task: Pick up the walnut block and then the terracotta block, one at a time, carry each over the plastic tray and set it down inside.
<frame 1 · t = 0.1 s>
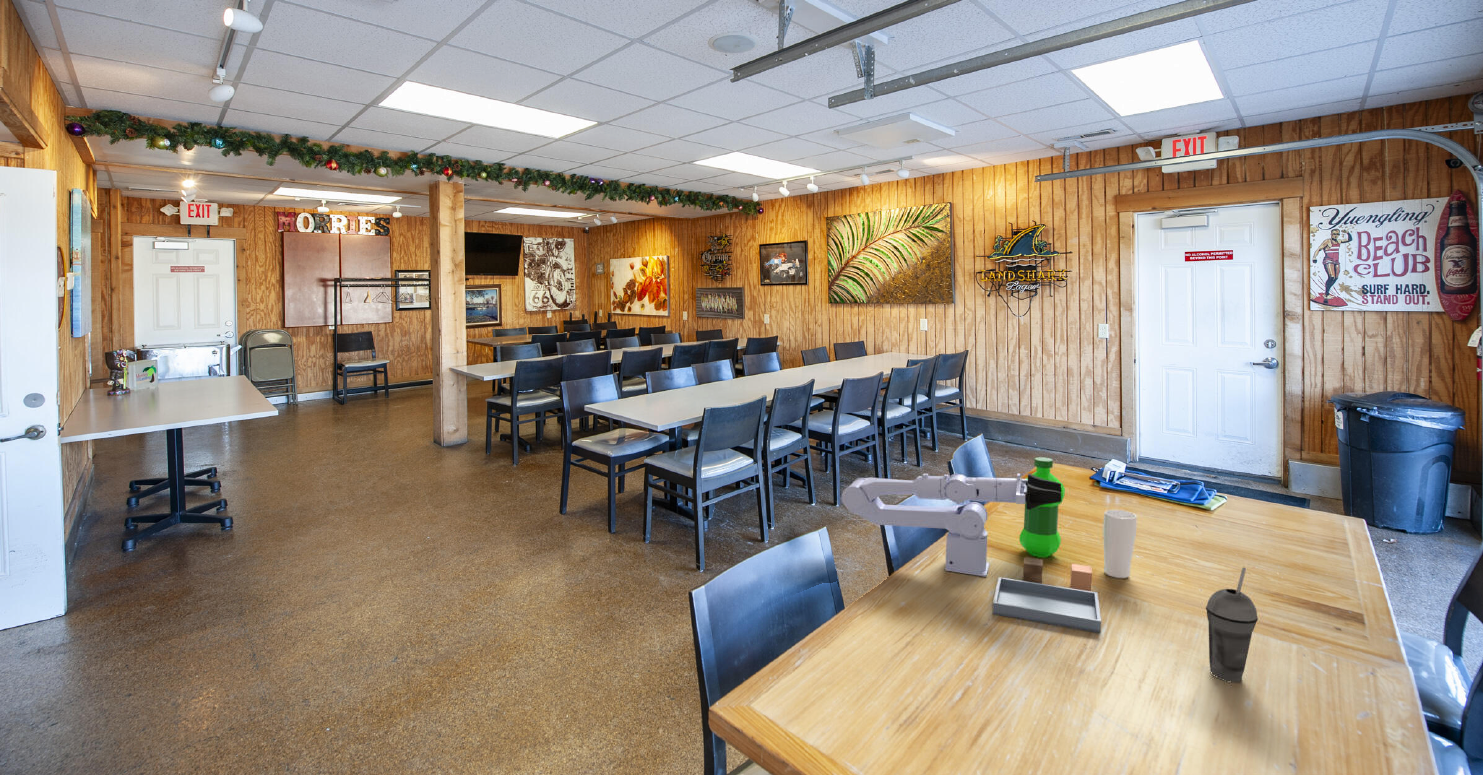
hand: (1061, 492, 151), 22 cm above the table, tool horizontal, fingers open, 7 cm apart
tray: (1045, 608, 141), on the table
drinking glass: (1116, 575, 158), on the table
terracotta block: (1080, 589, 150), on the table
walnut block: (1032, 581, 155), on the table
plastic bottle: (1039, 554, 171), on the table
beverage cup: (1225, 676, 116), on the table
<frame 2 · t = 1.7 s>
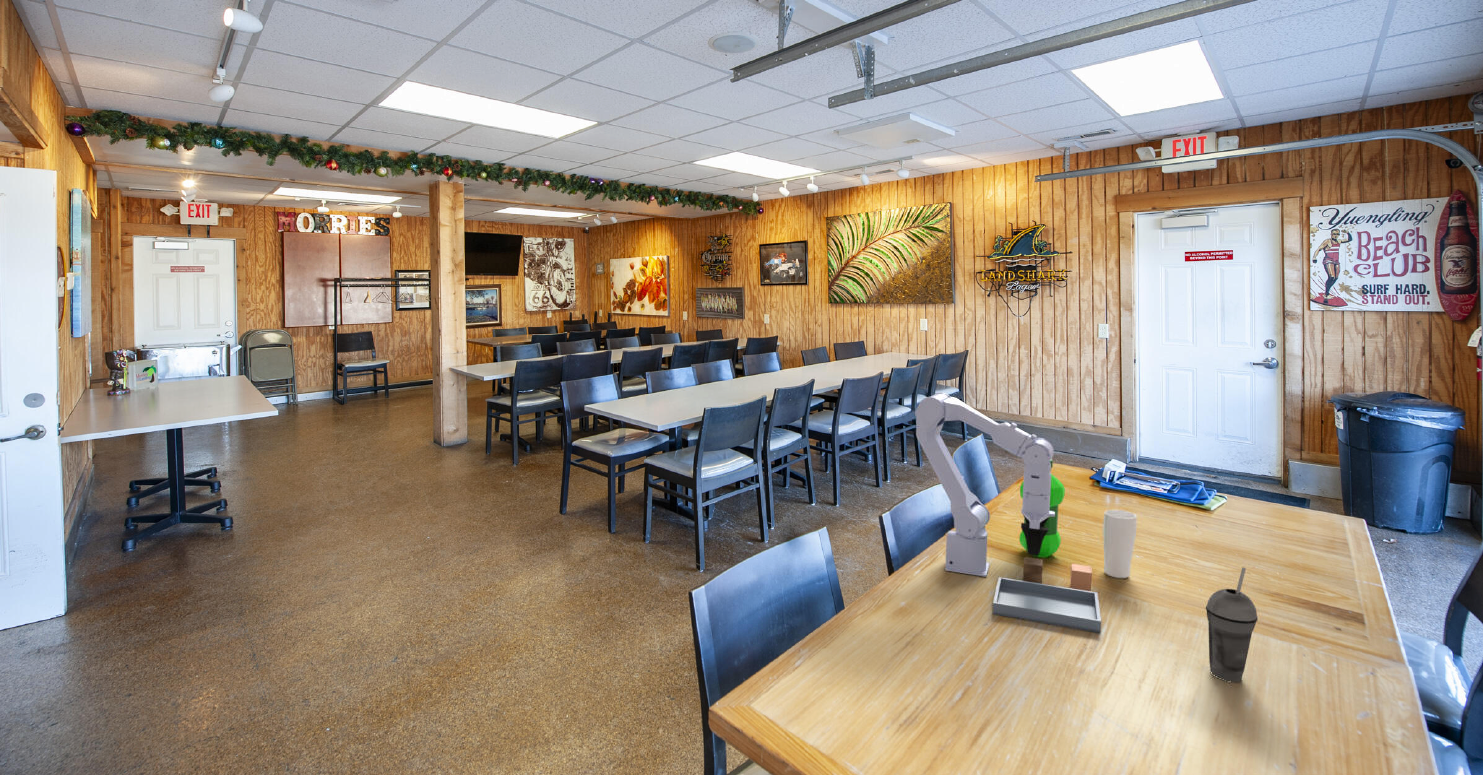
hand: (1034, 548, 154), 8 cm above the table, tool pointing down, fingers open, 7 cm apart
nothing on the table moved.
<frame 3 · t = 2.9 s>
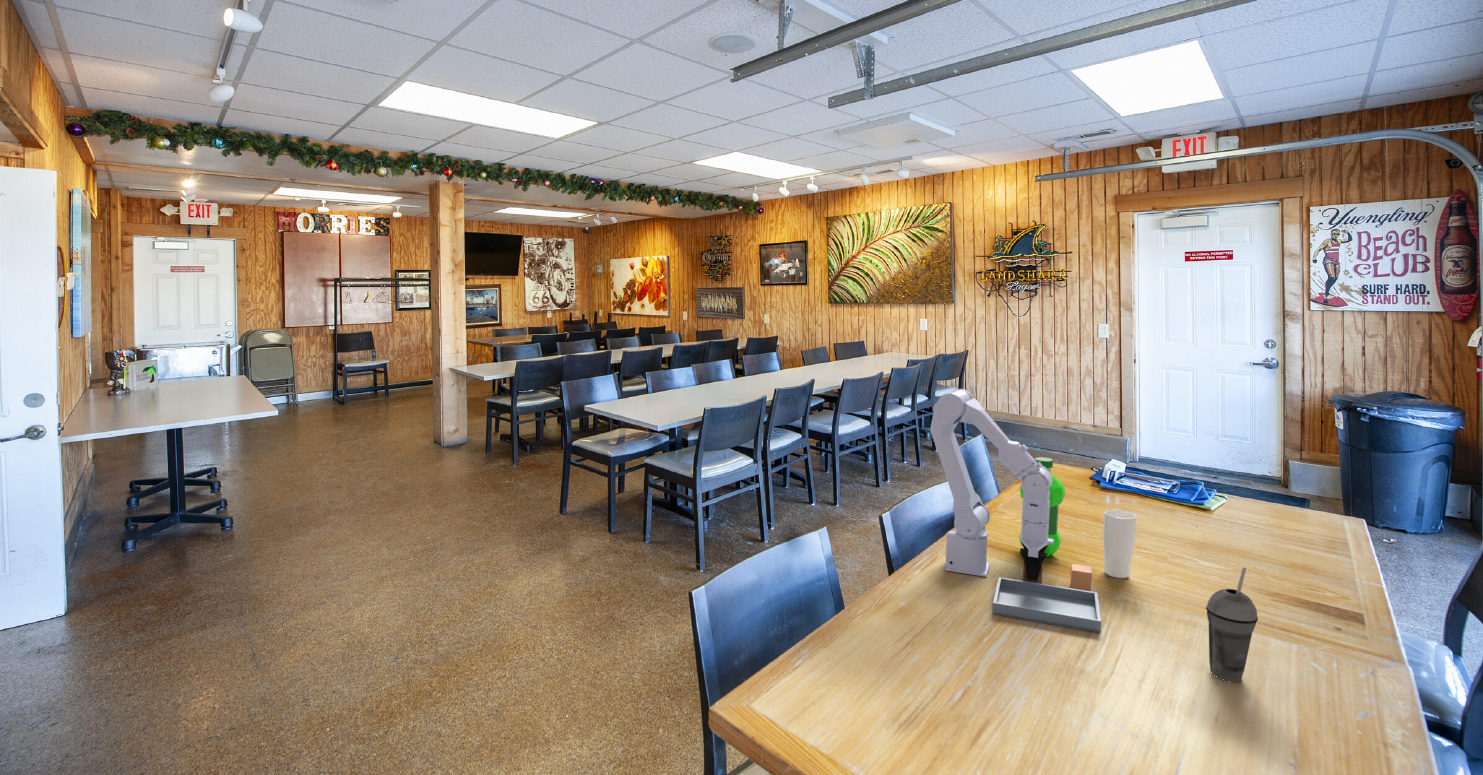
hand: (1032, 575, 155), 1 cm above the table, tool pointing down, fingers closed on walnut block, 4 cm apart
walnut block: (1032, 581, 155), on the table, touching gripper
everything else where it was.
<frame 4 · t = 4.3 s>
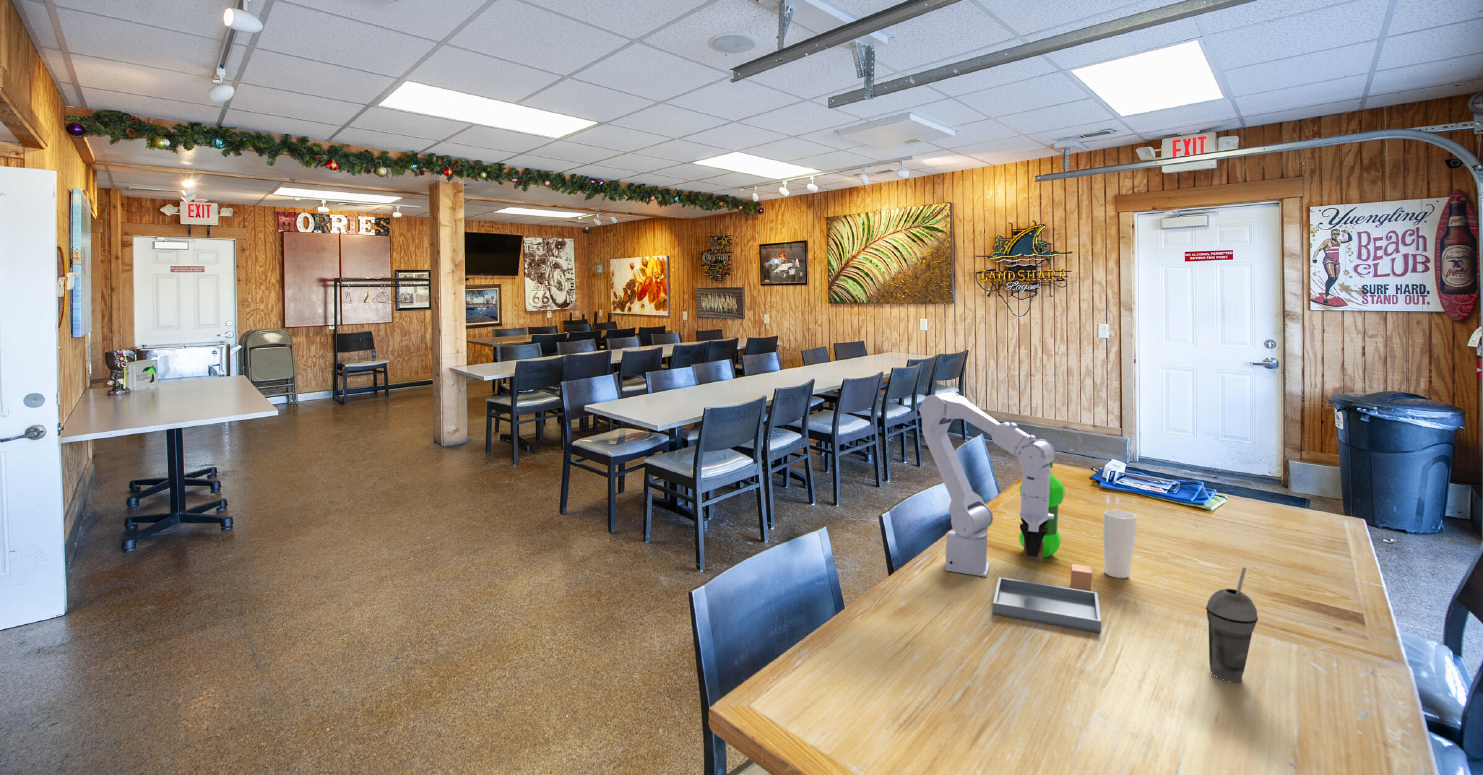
hand: (1032, 552, 151), 8 cm above the table, tool pointing down, fingers closed on walnut block, 4 cm apart
walnut block: (1033, 558, 151), point 7 cm above the table, touching gripper
everything else where it was.
when the fingers open (4 cm above the table, at t = 6.1 s): walnut block drops 2 cm, resting on tray.
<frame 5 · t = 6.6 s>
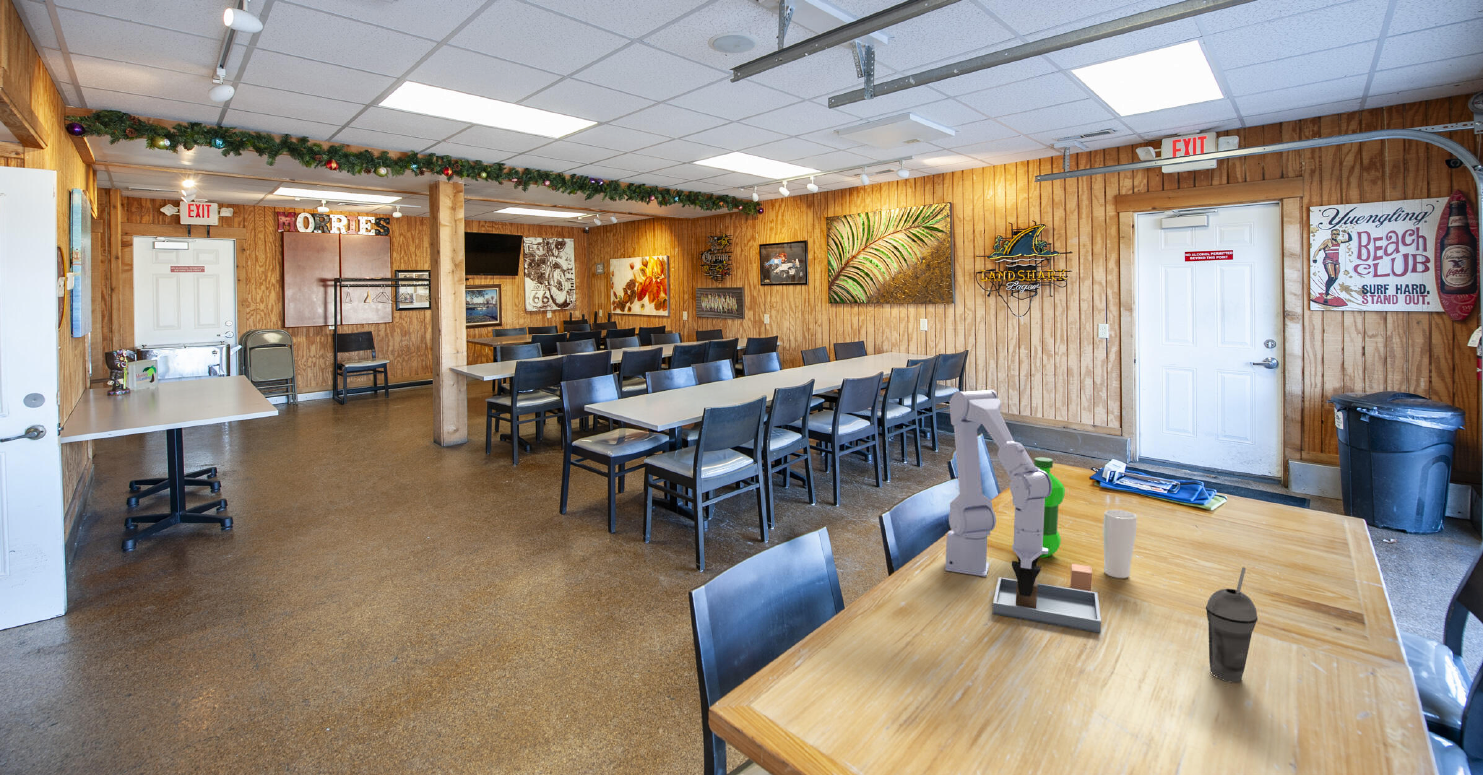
hand: (1025, 588, 143), 4 cm above the table, tool pointing down, fingers open, 7 cm apart
walnut block: (1026, 603, 143), resting on tray
everything else where it was.
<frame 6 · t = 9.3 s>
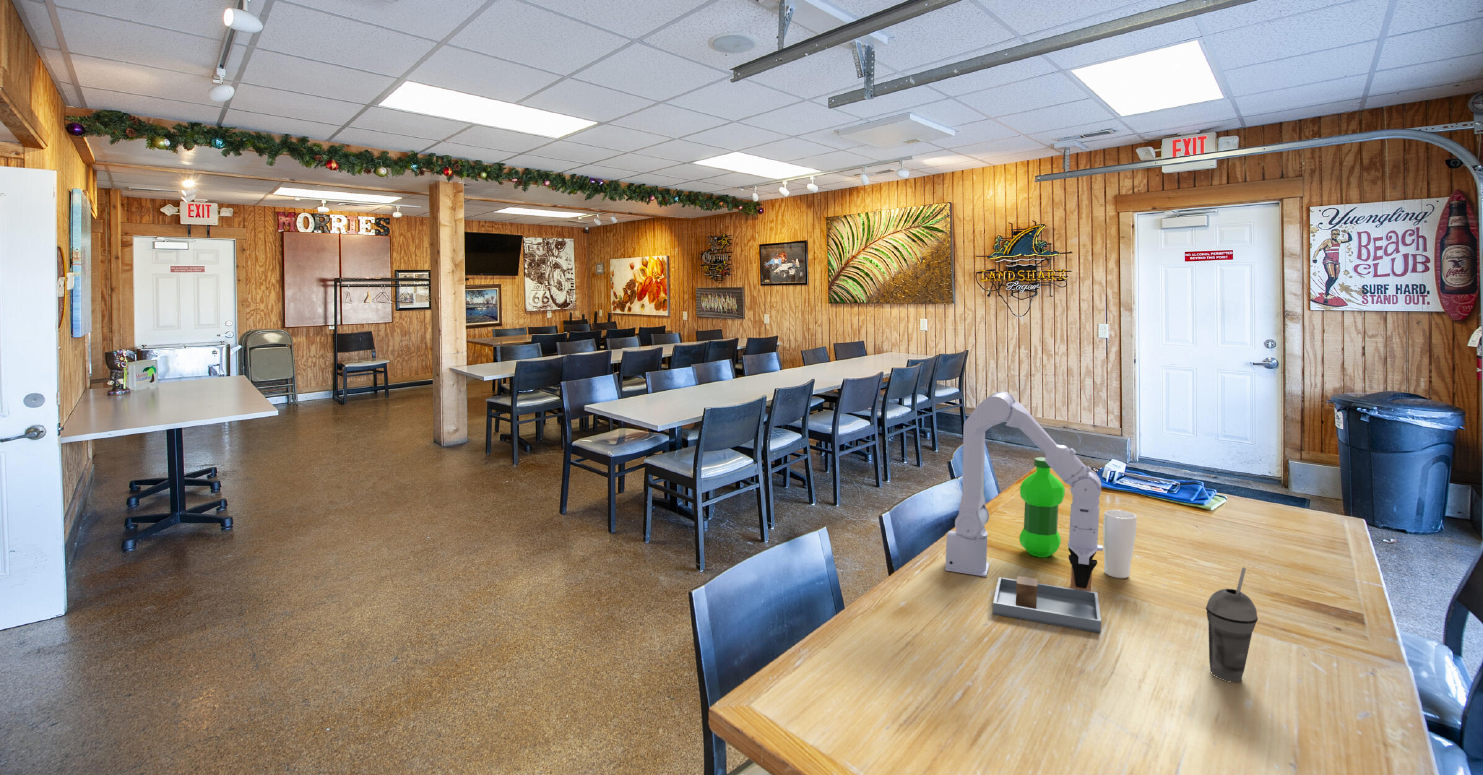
hand: (1080, 583, 150), 1 cm above the table, tool pointing down, fingers closed on terracotta block, 4 cm apart
terracotta block: (1080, 589, 150), on the table, touching gripper
everything else where it was.
when the fingers open (4 cm above the table, at t = 12.6 s): terracotta block drops 2 cm, resting on tray.
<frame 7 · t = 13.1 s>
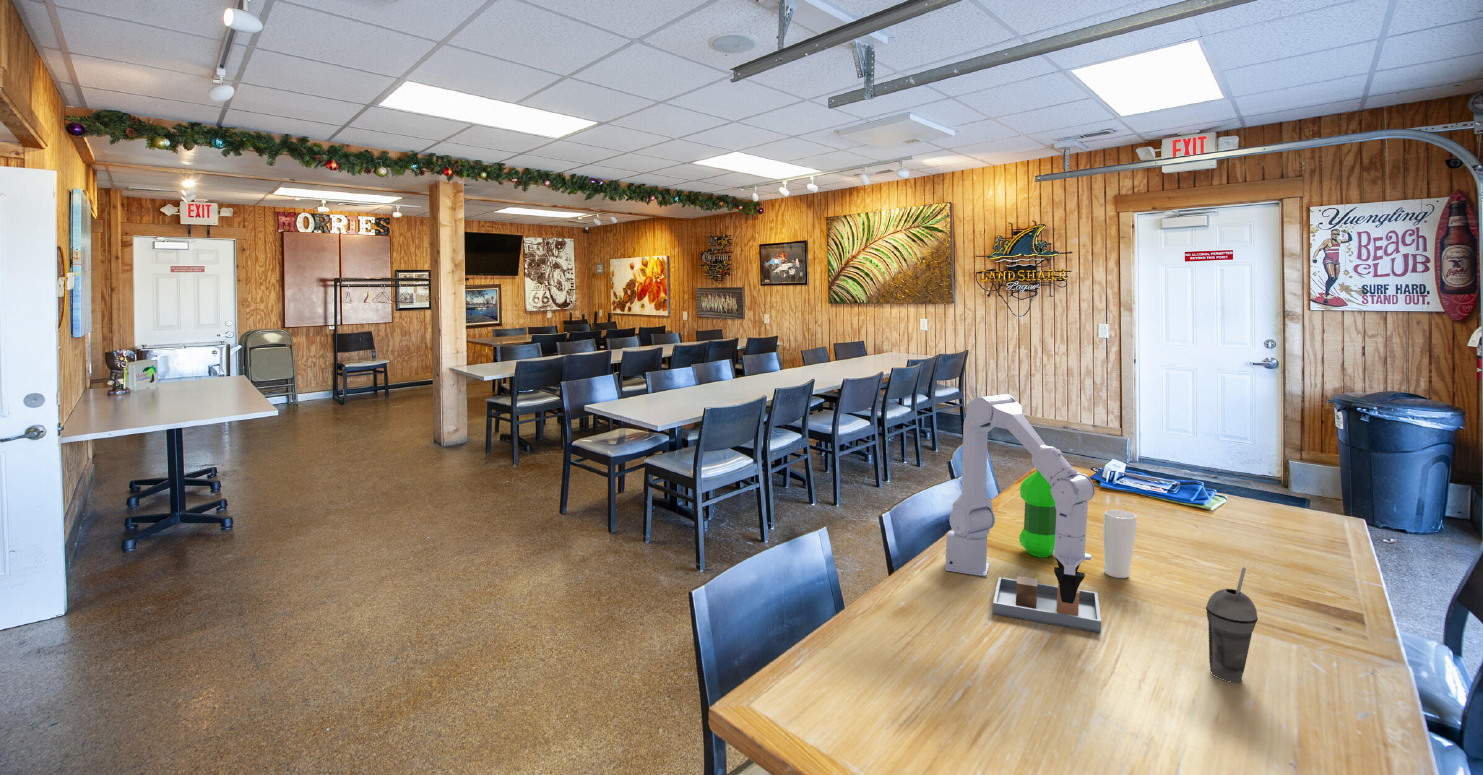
hand: (1067, 594, 139), 4 cm above the table, tool pointing down, fingers open, 7 cm apart
terracotta block: (1067, 610, 140), resting on tray
everything else where it was.
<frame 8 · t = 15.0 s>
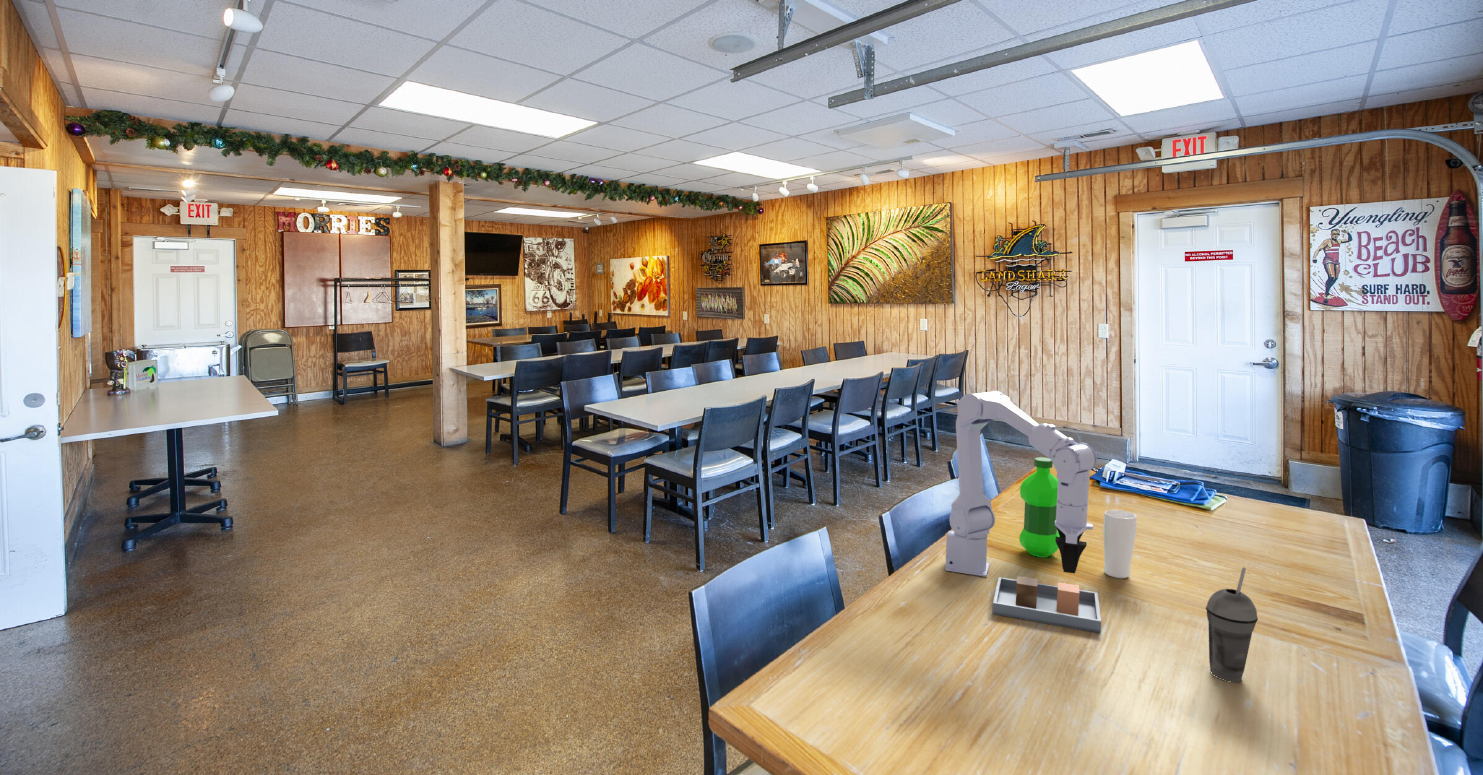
hand: (1068, 565, 138), 10 cm above the table, tool pointing down, fingers open, 7 cm apart
nothing on the table moved.
at the end: walnut block inside the target area on the tray (3.8 cm from its centre), point 0.5 cm above the tray's base; terracotta block inside the target area on the tray (4.2 cm from its centre), point 0.5 cm above the tray's base; the gripper is holding nothing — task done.
